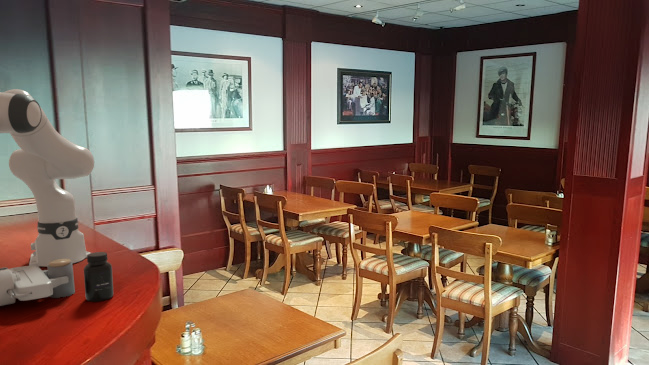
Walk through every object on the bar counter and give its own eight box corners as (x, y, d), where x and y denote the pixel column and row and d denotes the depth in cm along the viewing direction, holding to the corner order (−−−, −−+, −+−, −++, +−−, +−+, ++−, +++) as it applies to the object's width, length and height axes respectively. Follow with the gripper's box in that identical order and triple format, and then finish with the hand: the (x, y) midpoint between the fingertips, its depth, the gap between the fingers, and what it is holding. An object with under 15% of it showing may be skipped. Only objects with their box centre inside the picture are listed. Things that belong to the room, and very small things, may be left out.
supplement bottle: (103, 303, 125) (99, 258, 124) (80, 301, 127) (76, 257, 125) (119, 293, 132) (116, 251, 130) (97, 292, 133) (93, 250, 132)
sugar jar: (48, 293, 133) (44, 261, 132) (72, 288, 137) (69, 257, 135) (52, 299, 128) (49, 266, 127) (77, 294, 132) (74, 261, 131)
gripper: (9, 285, 115) (72, 273, 124) (-2, 266, 131) (55, 256, 140) (12, 311, 116) (75, 296, 125) (0, 289, 132) (57, 277, 140)
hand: (64, 275), depth 132 cm, fingers closed on sugar jar, 6 cm apart
